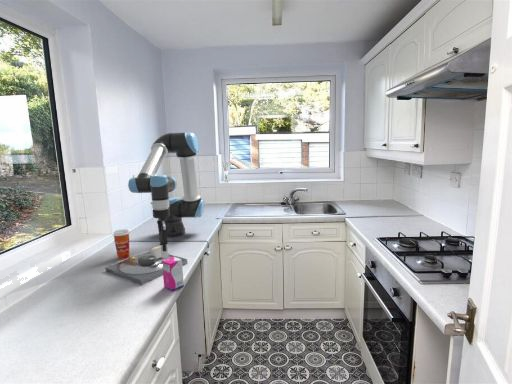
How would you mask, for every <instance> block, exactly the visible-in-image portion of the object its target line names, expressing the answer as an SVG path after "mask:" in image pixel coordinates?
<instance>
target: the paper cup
mask: <svg viewBox="0 0 512 384" xmlns="http://www.w3.org/2000/svg"><path fill="white" fill-rule="evenodd" d="M130 233H131V232H130V231H129V229H125V228H124V229H117V230H115V231H113V234H112V235H113V237H114V238H113V239H114V244H115V249H116V256H117V259H118V260H127V259H129V257H131V256H130Z"/></svg>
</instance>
